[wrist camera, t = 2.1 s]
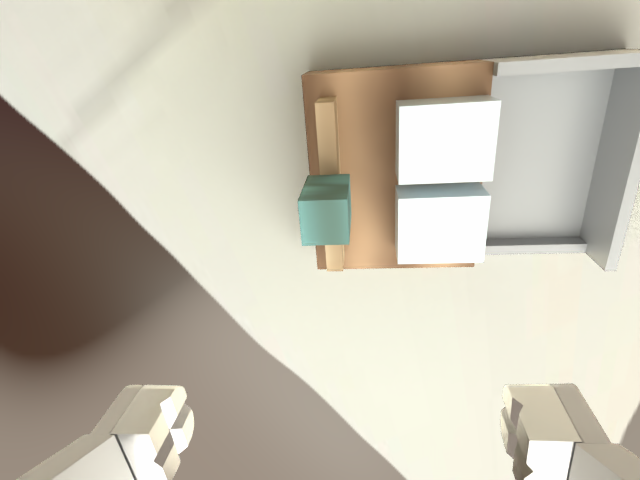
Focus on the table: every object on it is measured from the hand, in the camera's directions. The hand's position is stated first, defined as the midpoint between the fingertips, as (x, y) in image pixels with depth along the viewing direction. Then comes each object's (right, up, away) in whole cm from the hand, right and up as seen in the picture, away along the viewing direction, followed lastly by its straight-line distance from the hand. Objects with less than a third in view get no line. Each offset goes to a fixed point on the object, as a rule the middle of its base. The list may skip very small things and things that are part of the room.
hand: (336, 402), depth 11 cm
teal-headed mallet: (+1, +9, +20) cm, 22 cm away
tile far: (+8, +6, +21) cm, 23 cm away
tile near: (+8, +11, +18) cm, 23 cm away
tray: (+17, +11, +22) cm, 30 cm away
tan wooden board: (+5, +10, +23) cm, 26 cm away
